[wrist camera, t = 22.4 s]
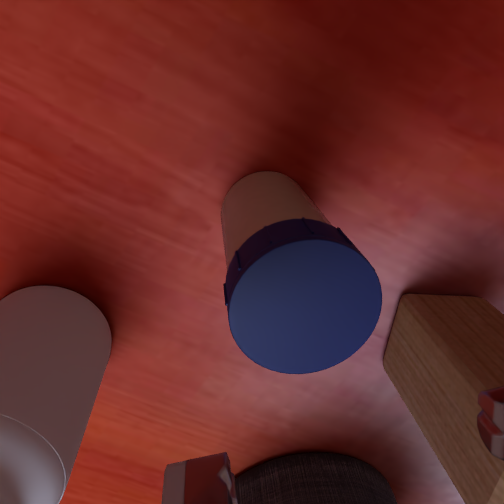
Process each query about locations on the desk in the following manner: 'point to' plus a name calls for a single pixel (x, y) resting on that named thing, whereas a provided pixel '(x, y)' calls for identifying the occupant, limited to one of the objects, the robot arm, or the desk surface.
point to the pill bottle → (46, 388)
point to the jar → (262, 207)
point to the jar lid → (301, 297)
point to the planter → (314, 481)
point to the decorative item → (450, 382)
